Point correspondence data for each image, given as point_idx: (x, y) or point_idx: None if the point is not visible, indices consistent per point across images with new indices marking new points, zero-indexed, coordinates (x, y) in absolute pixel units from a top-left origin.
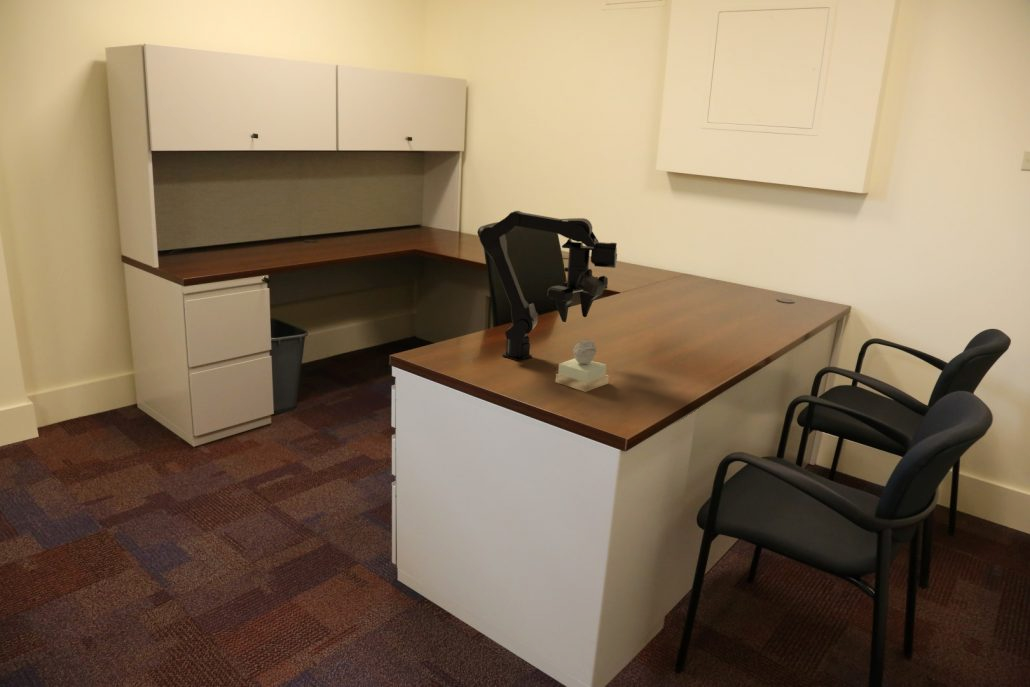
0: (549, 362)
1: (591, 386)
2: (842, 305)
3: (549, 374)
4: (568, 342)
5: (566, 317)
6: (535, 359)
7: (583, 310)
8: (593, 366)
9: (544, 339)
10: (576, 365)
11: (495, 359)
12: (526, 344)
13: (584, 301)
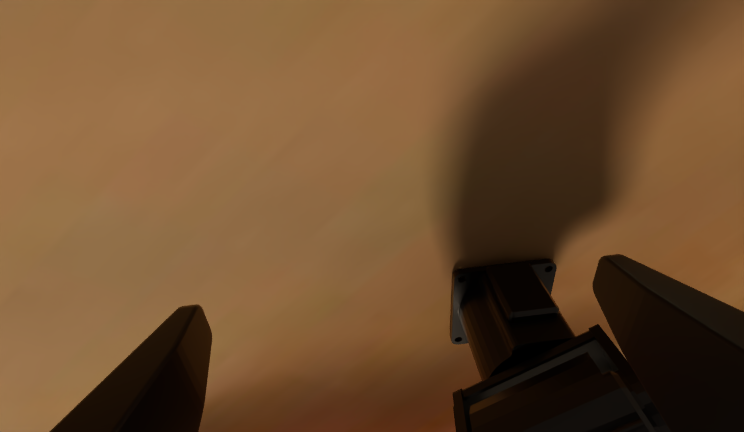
0: (451, 177)
1: None
2: None
3: (628, 25)
4: (138, 343)
5: (656, 287)
6: (467, 240)
7: (189, 405)
8: None
9: (222, 400)
10: None
11: (590, 309)
12: (538, 309)
13: None
